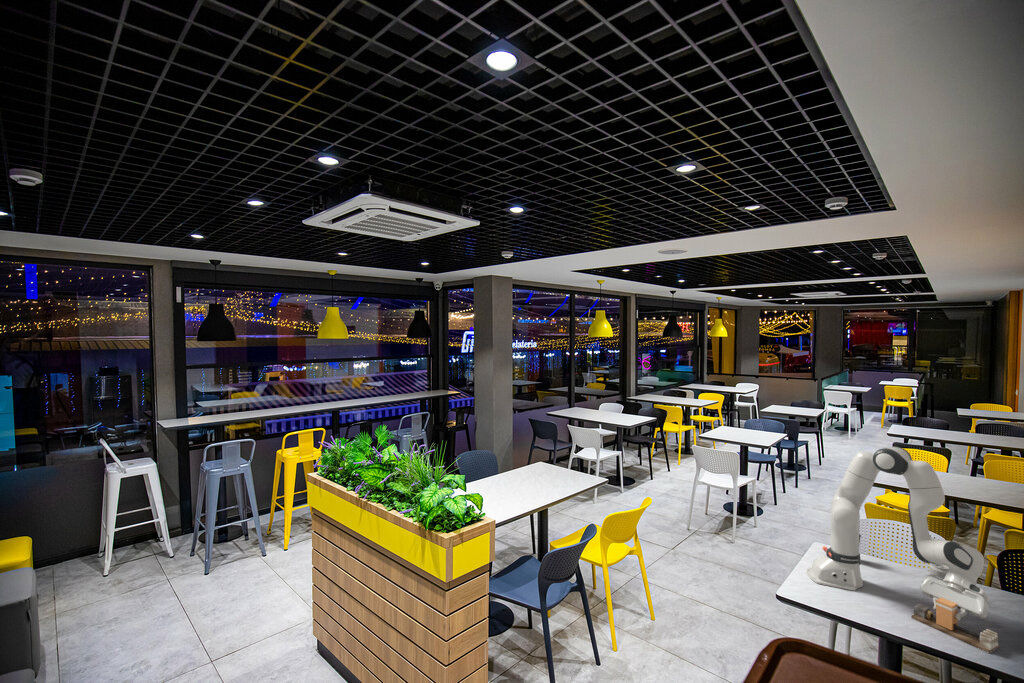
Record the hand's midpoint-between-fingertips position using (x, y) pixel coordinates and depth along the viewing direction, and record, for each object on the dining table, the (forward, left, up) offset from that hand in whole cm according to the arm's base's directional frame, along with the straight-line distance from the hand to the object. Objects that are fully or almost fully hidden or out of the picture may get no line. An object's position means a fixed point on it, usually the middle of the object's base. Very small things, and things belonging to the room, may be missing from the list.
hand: (946, 614), depth 187 cm
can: (+15, +32, -6) cm, 36 cm away
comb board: (+2, -1, -6) cm, 6 cm away
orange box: (0, 0, -5) cm, 5 cm away
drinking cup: (-11, +56, -6) cm, 58 cm away
